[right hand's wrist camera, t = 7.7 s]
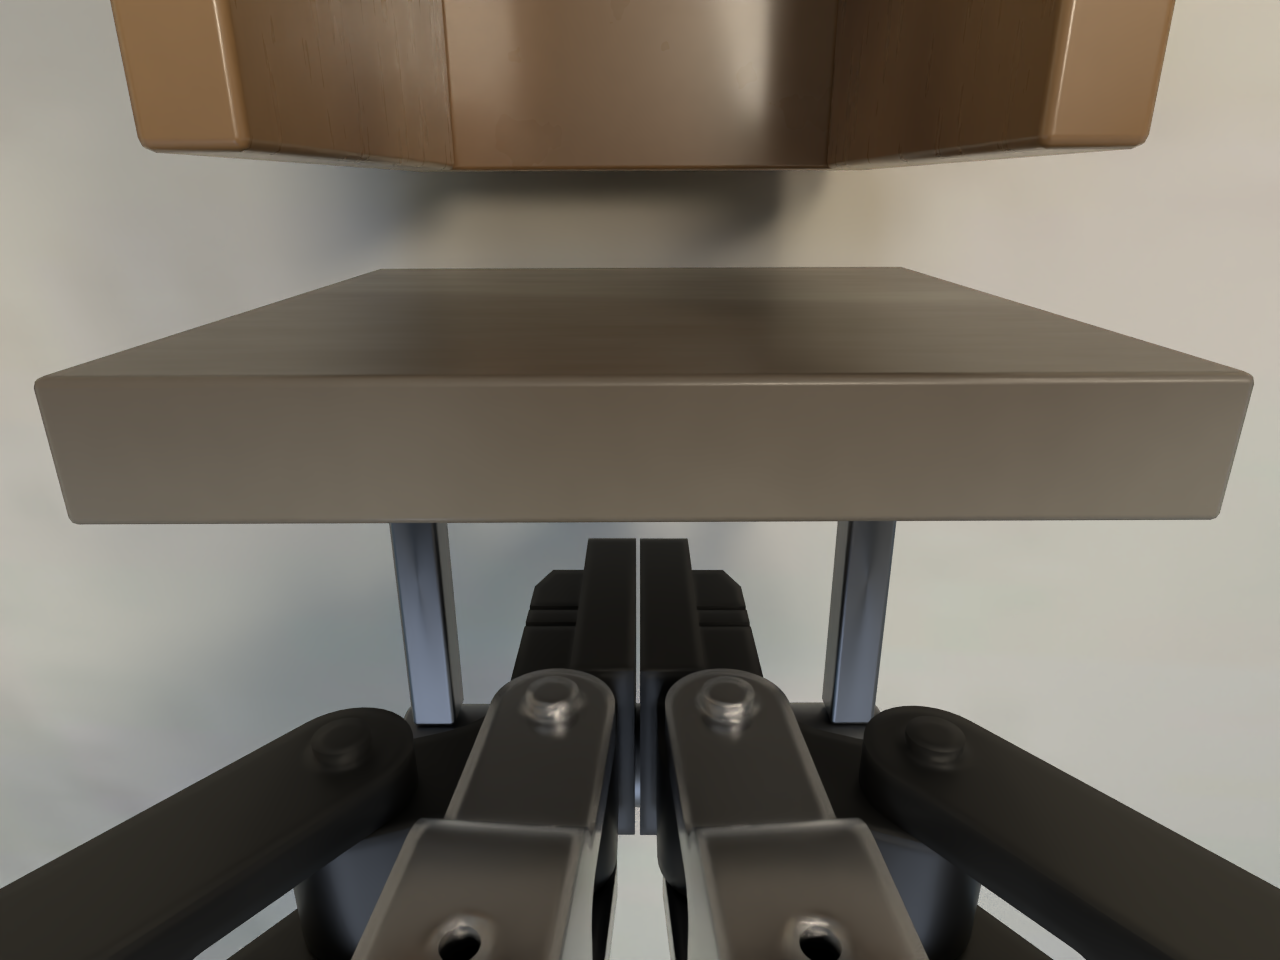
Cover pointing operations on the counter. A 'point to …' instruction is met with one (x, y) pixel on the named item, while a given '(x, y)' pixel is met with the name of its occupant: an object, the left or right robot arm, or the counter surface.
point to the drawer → (642, 298)
